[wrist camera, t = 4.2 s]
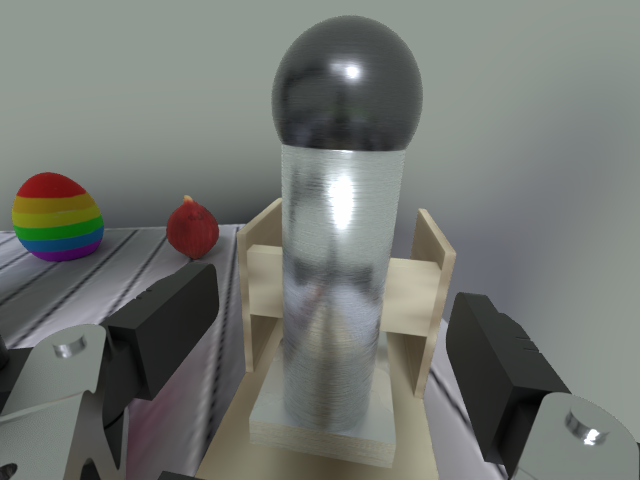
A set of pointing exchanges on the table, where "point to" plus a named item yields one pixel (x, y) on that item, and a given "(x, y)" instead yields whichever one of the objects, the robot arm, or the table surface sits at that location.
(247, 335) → the frame
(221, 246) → the table surface
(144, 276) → the table surface
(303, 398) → the shaft
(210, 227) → the onion
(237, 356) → the table surface
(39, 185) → the decorative egg
